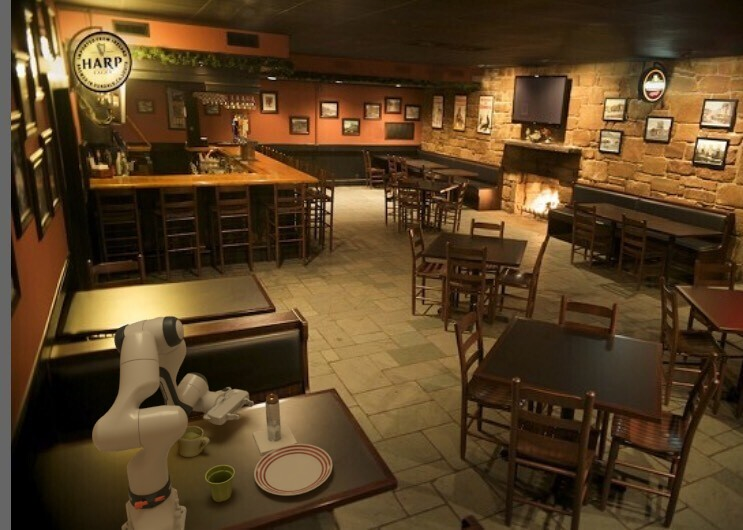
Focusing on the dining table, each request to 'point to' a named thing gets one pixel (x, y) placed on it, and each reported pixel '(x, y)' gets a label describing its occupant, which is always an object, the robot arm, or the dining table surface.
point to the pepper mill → (273, 418)
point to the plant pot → (220, 482)
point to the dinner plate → (293, 469)
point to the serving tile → (268, 446)
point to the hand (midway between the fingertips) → (246, 410)
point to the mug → (192, 442)
